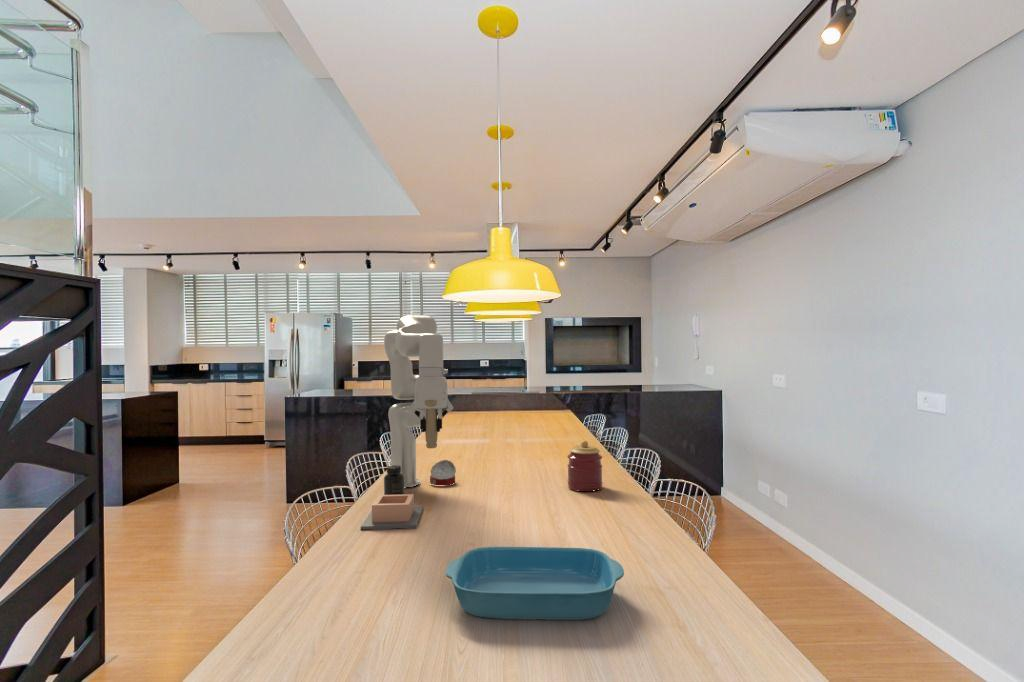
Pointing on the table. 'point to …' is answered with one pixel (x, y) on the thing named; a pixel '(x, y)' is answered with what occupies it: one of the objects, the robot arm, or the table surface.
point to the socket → (393, 512)
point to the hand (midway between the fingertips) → (431, 430)
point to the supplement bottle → (394, 481)
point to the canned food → (443, 473)
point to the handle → (431, 425)
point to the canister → (584, 468)
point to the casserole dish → (534, 582)
